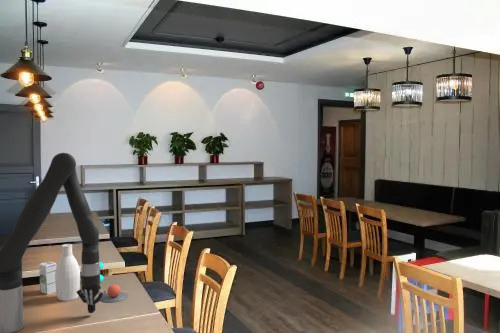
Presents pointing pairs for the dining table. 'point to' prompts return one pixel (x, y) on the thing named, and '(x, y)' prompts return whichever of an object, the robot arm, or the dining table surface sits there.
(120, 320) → the dining table surface
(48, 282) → the syrup box
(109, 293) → the ball
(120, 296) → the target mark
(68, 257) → the bottle
